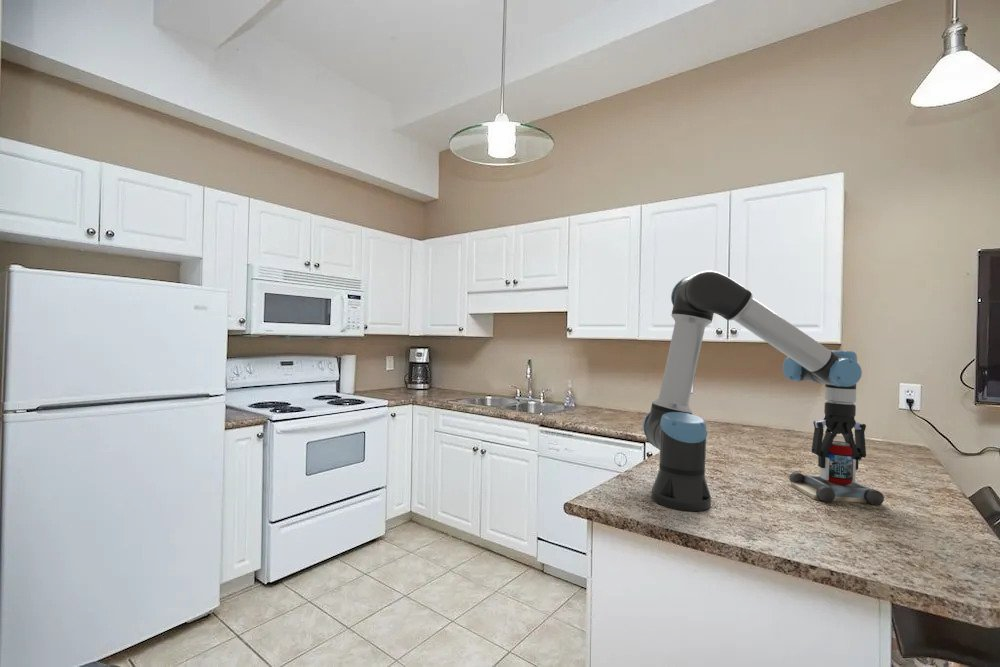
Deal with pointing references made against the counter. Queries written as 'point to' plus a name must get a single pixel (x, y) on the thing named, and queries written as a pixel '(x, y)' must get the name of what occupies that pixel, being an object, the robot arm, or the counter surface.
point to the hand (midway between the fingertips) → (837, 479)
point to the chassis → (834, 490)
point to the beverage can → (840, 463)
